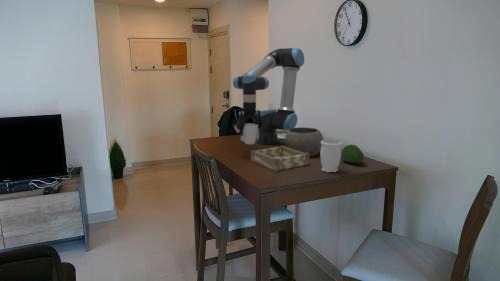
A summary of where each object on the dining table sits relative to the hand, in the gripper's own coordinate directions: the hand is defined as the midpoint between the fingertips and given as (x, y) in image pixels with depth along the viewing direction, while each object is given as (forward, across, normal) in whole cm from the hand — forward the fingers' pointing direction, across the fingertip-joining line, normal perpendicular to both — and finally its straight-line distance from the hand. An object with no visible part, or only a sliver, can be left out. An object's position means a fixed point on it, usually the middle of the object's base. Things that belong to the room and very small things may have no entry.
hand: (249, 139), depth 202 cm
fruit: (+11, -39, +43) cm, 59 cm away
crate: (+10, -5, +21) cm, 24 cm away
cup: (+2, 0, 0) cm, 2 cm away
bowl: (+11, -31, +12) cm, 35 cm away
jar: (+10, -18, +46) cm, 51 cm away
